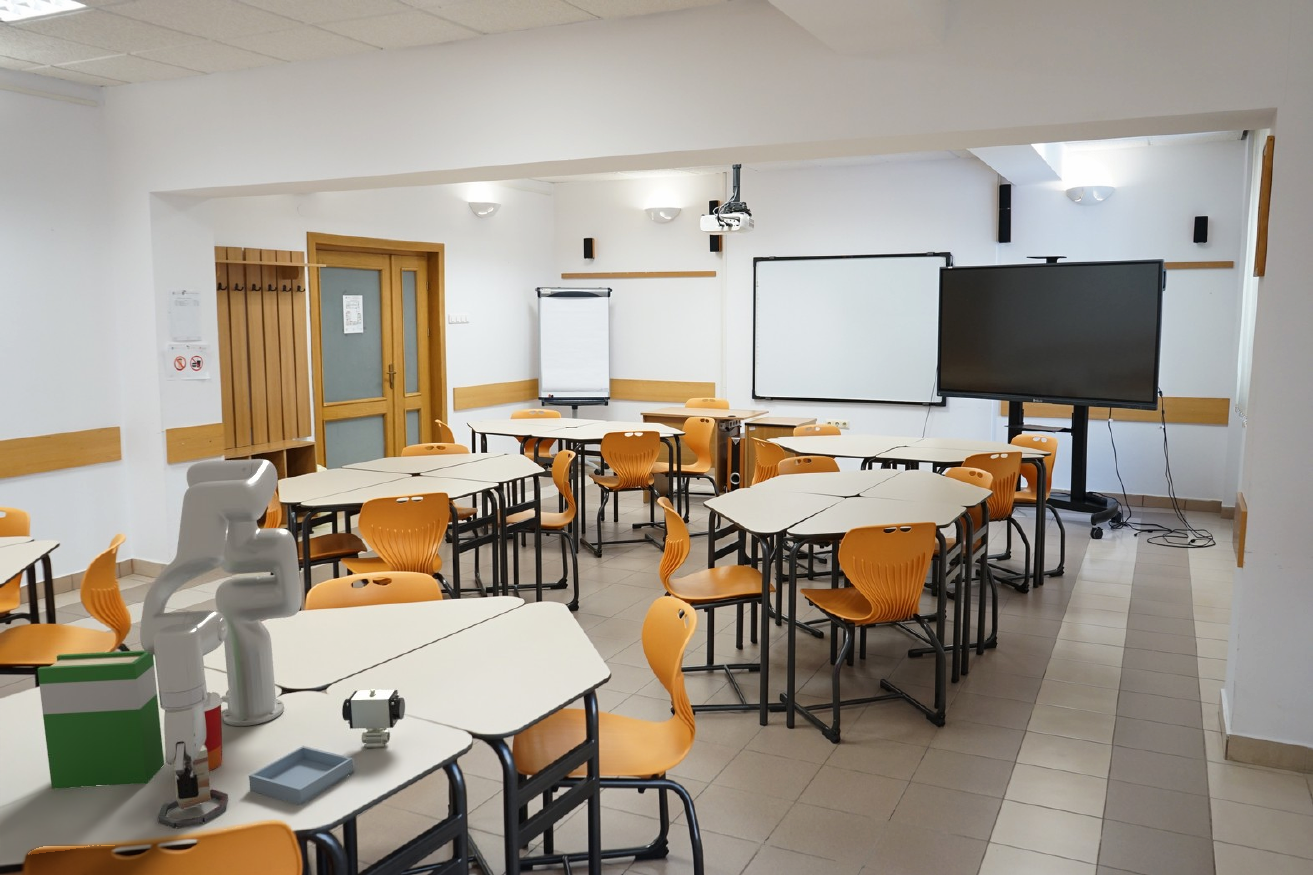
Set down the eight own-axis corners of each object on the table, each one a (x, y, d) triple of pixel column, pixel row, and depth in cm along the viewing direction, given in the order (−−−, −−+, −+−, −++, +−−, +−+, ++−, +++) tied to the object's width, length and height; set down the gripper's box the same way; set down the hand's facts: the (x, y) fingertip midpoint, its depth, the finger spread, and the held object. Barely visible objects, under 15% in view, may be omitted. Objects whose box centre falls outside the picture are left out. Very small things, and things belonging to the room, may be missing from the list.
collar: (146, 819, 169) (145, 813, 168) (199, 790, 178) (199, 785, 178) (187, 832, 164) (187, 827, 164) (240, 802, 173) (240, 797, 173)
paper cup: (194, 757, 192) (188, 691, 190) (233, 755, 192) (227, 689, 191) (178, 776, 184) (172, 707, 182) (219, 773, 185) (213, 705, 183)
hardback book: (51, 788, 180) (37, 668, 177) (72, 770, 188) (59, 654, 184) (147, 783, 182) (134, 664, 178) (164, 764, 189) (152, 650, 186)
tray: (250, 790, 178) (248, 775, 177) (304, 759, 190) (303, 745, 189) (301, 805, 172) (300, 789, 172) (353, 772, 184) (352, 758, 183)
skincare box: (181, 810, 168) (176, 757, 167) (176, 800, 172) (170, 748, 170) (213, 800, 171) (207, 748, 170) (206, 790, 175) (201, 739, 173)
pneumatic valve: (401, 749, 193) (397, 693, 191) (344, 750, 193) (340, 694, 192) (408, 737, 199) (405, 682, 197) (353, 738, 199) (349, 684, 197)
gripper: (172, 677, 176) (182, 767, 179) (146, 717, 159) (157, 816, 162) (216, 672, 177) (225, 762, 180) (194, 712, 161) (205, 810, 164)
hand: (193, 787), depth 171 cm, fingers closed on skincare box, 5 cm apart
